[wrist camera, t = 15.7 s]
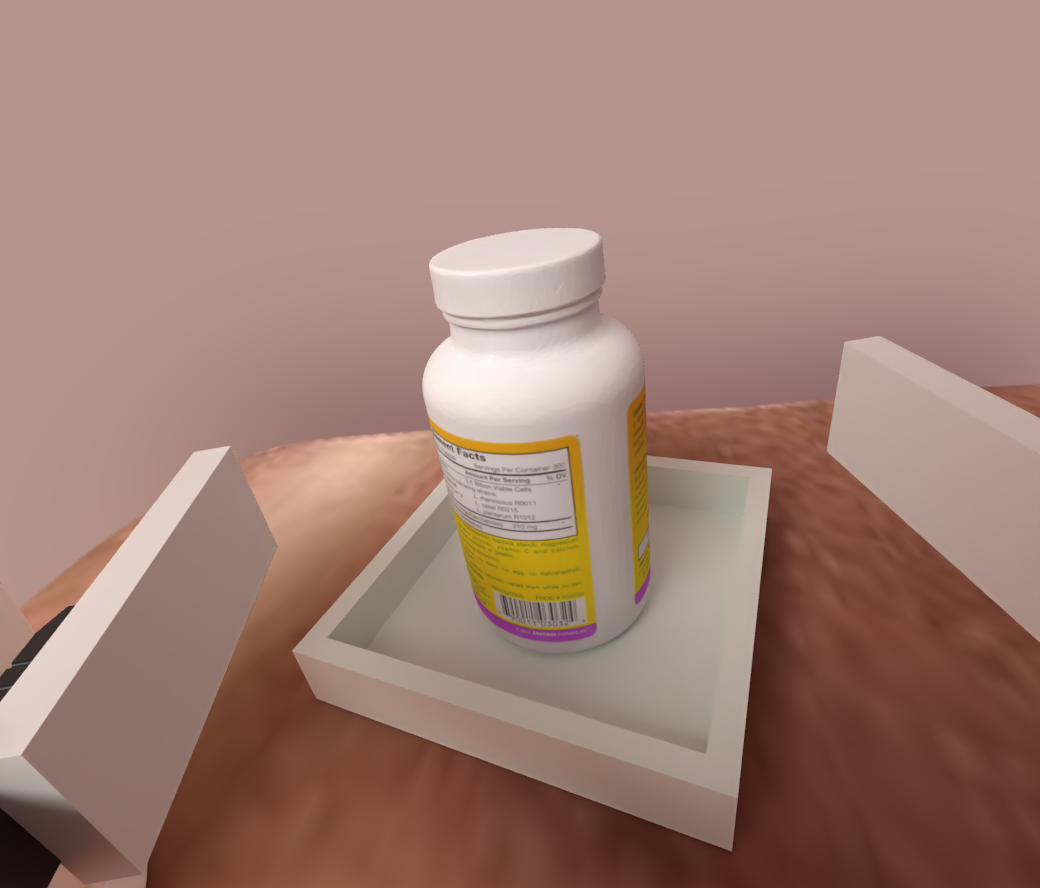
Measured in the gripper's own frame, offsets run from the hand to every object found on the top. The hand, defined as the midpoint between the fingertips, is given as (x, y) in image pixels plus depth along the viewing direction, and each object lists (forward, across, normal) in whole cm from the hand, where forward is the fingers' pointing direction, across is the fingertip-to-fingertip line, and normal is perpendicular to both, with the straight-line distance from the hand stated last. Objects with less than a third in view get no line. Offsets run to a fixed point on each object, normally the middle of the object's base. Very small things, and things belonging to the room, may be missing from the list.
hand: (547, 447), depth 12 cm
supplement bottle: (+5, 0, -10) cm, 11 cm away
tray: (+5, 0, -10) cm, 11 cm away
